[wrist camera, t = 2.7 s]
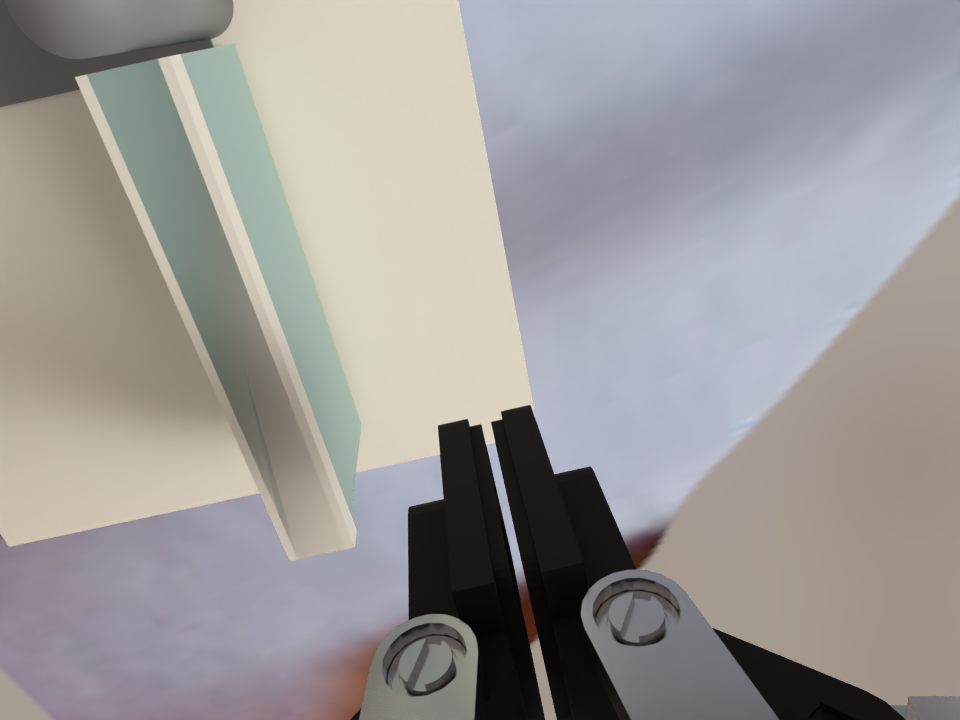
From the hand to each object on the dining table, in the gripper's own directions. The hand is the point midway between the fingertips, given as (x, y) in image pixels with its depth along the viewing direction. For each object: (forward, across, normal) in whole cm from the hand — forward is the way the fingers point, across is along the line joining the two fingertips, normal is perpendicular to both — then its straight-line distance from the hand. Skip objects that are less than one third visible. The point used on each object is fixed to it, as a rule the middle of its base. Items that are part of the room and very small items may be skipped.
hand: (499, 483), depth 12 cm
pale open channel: (+8, +5, -2) cm, 10 cm away
